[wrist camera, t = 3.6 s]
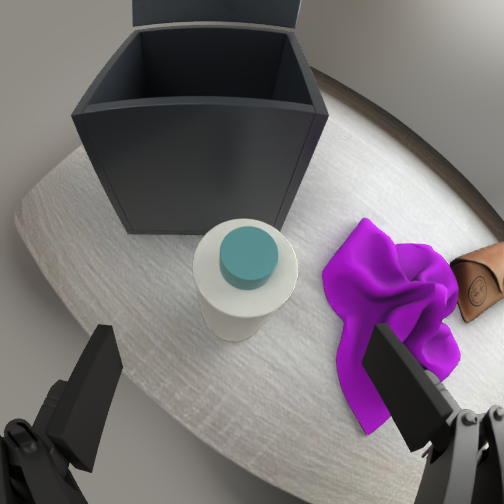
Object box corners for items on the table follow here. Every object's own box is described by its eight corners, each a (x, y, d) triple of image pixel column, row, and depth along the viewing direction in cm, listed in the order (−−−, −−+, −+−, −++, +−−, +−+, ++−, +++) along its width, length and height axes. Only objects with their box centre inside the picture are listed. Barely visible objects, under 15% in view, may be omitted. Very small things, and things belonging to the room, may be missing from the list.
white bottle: (202, 341, 22) (186, 310, 11) (203, 282, 24) (193, 200, 13) (264, 341, 23) (313, 309, 11) (262, 282, 25) (301, 204, 14)
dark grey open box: (277, 236, 27) (329, 115, 14) (127, 234, 25) (70, 115, 12) (268, 139, 32) (294, 32, 19) (150, 136, 31) (134, 30, 17)
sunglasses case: (467, 328, 25) (493, 286, 21) (435, 291, 30) (454, 249, 26) (518, 289, 28) (535, 256, 24) (493, 264, 34) (507, 231, 30)
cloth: (321, 211, 29) (343, 175, 23) (447, 241, 30) (477, 219, 24) (307, 438, 19) (335, 455, 14) (454, 416, 21) (493, 416, 15)
